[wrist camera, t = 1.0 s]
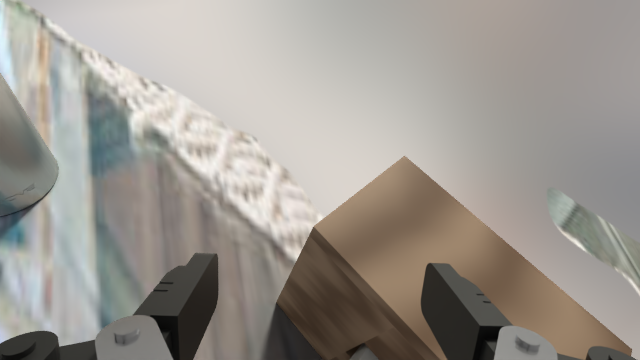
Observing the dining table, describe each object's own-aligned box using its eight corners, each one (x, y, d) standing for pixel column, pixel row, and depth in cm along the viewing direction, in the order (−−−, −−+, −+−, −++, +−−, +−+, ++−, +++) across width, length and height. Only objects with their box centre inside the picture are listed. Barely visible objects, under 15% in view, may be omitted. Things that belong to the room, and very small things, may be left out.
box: (276, 302, 31) (313, 226, 18) (341, 244, 36) (404, 155, 24) (417, 474, 26) (602, 530, 13) (468, 375, 31) (632, 349, 19)
